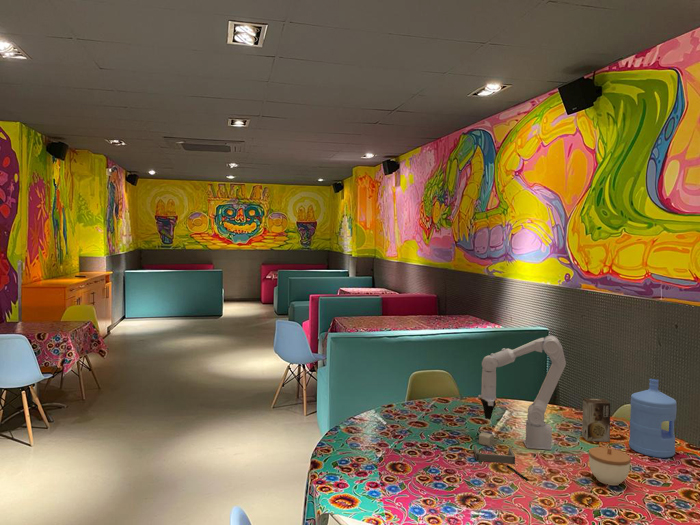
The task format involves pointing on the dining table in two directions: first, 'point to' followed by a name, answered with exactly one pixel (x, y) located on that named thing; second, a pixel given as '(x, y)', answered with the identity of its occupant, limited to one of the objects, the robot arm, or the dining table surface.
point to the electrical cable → (517, 473)
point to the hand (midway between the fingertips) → (487, 418)
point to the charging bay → (495, 457)
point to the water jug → (652, 422)
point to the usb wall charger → (487, 439)
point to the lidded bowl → (609, 465)
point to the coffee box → (596, 420)
